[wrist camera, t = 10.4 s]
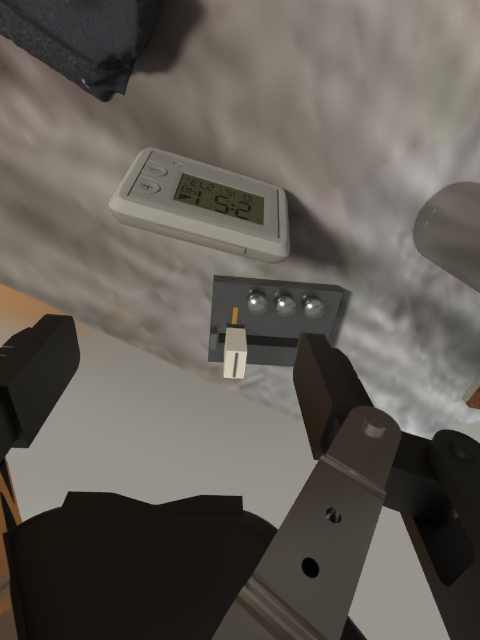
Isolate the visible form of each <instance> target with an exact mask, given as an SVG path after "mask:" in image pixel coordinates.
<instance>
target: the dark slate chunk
mask: <svg viewBox="0 0 480 640" xmlns="http://www.w3.org/2000/svg"><path fill="white" fill-rule="evenodd" d="M163 2H164V0H0V35H2V36H4V37H6V38H7V39H10V40H12V41H13V42H14V43H15V44H16V45H17V46H18V47H21V48H23V49H24V50H25V51H27V52H28V53H29V54H31V55H32V56H34V57H35V58H37V59H39V60H40V61H42V62H44V63H45V64H47V65H48V66H49V67H51V68H52V69H54V70H56V71H57V72H59V73H61V74H62V75H64V76H65V77H66V78H67V79H69V80H71V81H73V82H74V83H76V84H77V85H78V86H79V87H80V88H82V89H83V90H84V91H86V92H88V93H90V94H92V95H93V96H95V97H96V98H97V99H99V100H100V101H103V102H104V101H106V100H107V99H108V95H109V93H113V92H117V93H120V94H122V95H125V92H126V88H127V84H128V80H129V77H130V75H131V73H132V70H133V66H134V63H135V60H136V57H140V54H141V51H142V50H143V49H144V48H145V47H146V46H147V45H148V44H149V41H150V39H151V36H152V34H153V31H154V29H155V27H156V23H157V19H158V16H159V13H160V10H161V7H162V4H163Z"/></svg>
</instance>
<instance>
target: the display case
mask: <svg viewBox="0 0 480 640" xmlns="http://www.w3.org/2000/svg"><path fill="white" fill-rule="evenodd" d="M462 400H463V401H464V402H465V403H466V404H467V405H468V407H470V408H476V409H480V375H479V376H478V377H477V379H476V380H475V381H474V382H473V384H472V385H471V386H470V388H469V389H468V390H467V391H466V393H465V394H464V395H463V396H462Z"/></svg>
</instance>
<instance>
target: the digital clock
mask: <svg viewBox="0 0 480 640" xmlns="http://www.w3.org/2000/svg"><path fill="white" fill-rule="evenodd" d="M109 208H110V212H111V214H112V216H113V217H114V218H115V219H116V220H118V221H119V222H120V223H122V224H125V225H128V226H131V227H135V228H138V229H142V230H146V231H149V232H153V233H156V234H160V235H164V236H168V237H171V238H175V239H179V240H183V241H186V242H190V243H194V244H198V245H201V246H205V247H209V248H213V249H216V250H220V251H224V252H228V253H231V254H235V255H239V256H243V257H246V258H250V259H254V260H258V261H262V262H266V263H271V264H275V263H280V262H283V261H284V260H285V259H287V257H288V255H289V254H290V238H289V221H288V203H287V198H286V194H285V192H284V190H283V189H282V188H280V187H278V186H275V185H272V184H269V183H266V182H263V181H260V180H257V179H254V178H250V177H247V176H244V175H241V174H237V173H234V172H231V171H228V170H225V169H221V168H218V167H215V166H212V165H209V164H205V163H202V162H199V161H196V160H193V159H189V158H186V157H183V156H180V155H177V154H173V153H170V152H167V151H163V150H160V149H157V148H153V147H146V148H145V149H144V150H142V151H141V152H140V153H139V154H138V155H137V157H136V158H135V160H134V162H133V163H132V165H131V167H130V168H129V170H128V172H127V173H126V175H125V177H124V178H123V180H122V181H121V183H120V185H119V186H118V188H117V190H116V191H115V193H114V195H113V197H112V198H111V200H110V203H109Z"/></svg>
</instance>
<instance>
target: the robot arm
mask: <svg viewBox="0 0 480 640" xmlns="http://www.w3.org/2000/svg"><path fill="white" fill-rule="evenodd" d="M413 237H414V243H415V246H416V248H417V250H418V251H419V252H420V254H421V255H422V256H424V257H426V258H427V259H429V260H430V261H432V262H433V263H435V264H436V265H438V266H439V267H441V268H442V269H443V270H445V271H447V272H448V273H450V274H451V275H453V276H454V277H456V278H457V279H459V280H460V281H462V282H464V283H465V284H467V285H468V286H470V287H471V288H473V289H474V290H476V291H477V292H479V293H480V184H479V183H473V182H461V183H457V184H453V185H450V186H448V187H446V188H444V189H443V190H441V191H439V192H438V193H437V194H435V195H434V196H433V197H432V198H431V199H430V200H429V201H428V202H427V203H426V204H425V206H424V207H423V209H422V210H421V211H420V213H419V215H418V217H417V220H416V223H415V226H414V235H413ZM79 362H80V350H79V345H78V340H77V334H76V328H75V323H74V319H73V318H72V316H68V315H53V314H46V315H45V316H43V317H42V318H41V319H40V320H39V321H38V322H37V323H36V324H35V325H34V327H33V328H30V327H28V328H26V329H24V330H22V331H21V332H19V333H17V334H15V335H13V336H12V337H11V338H10V339H9V340H8V341H7V342H6V343H5V344H4V345H2V348H0V640H367V639H366V638H365V636H364V635H363V634H362V632H361V631H360V630H359V629H358V627H357V626H356V625H355V624H354V622H353V621H352V620H351V619H350V617H349V616H348V613H349V609H350V606H351V603H352V600H353V597H354V594H355V591H356V588H357V584H358V581H359V578H360V575H361V572H362V569H363V565H364V562H365V559H366V556H367V553H368V550H369V547H370V544H371V540H372V537H373V534H374V531H375V528H376V525H377V522H378V518H379V515H380V512H381V509H382V506H385V507H388V508H390V509H393V510H396V511H399V512H400V513H401V516H402V518H403V521H404V523H405V526H406V529H407V531H408V533H409V536H410V539H411V541H412V544H413V546H414V549H415V551H416V554H417V556H418V559H419V561H420V564H421V567H422V569H423V572H424V574H425V576H426V579H427V582H428V584H429V587H430V589H431V592H432V594H433V597H434V599H435V602H436V604H437V607H438V609H439V612H440V615H441V617H442V619H443V622H444V625H445V627H446V630H447V632H448V635H449V637H450V640H480V444H479V443H478V442H477V441H475V440H474V439H473V438H471V437H469V436H467V435H465V434H463V433H460V432H457V431H454V430H440V431H438V432H437V433H436V434H435V435H434V437H433V439H432V440H429V439H426V438H422V437H419V436H415V435H412V434H409V433H406V432H403V431H401V429H400V427H399V425H398V424H397V422H396V421H395V420H394V419H393V418H392V417H391V416H390V415H388V414H387V413H385V412H384V411H382V410H380V409H377V408H375V407H374V406H373V404H372V402H371V400H370V398H369V396H368V394H367V392H366V391H365V389H364V387H363V385H362V383H361V381H360V379H359V378H358V375H357V374H356V372H355V370H353V366H352V364H351V362H350V360H349V359H348V357H347V356H346V355H344V354H343V353H342V352H341V351H340V350H339V349H337V348H331V346H330V344H329V342H328V340H327V338H326V336H325V335H324V334H317V333H303V334H302V335H301V338H300V343H299V347H298V351H297V355H296V359H295V364H294V369H293V382H294V386H295V390H296V394H297V398H298V401H299V405H300V409H301V413H302V417H303V420H304V424H305V428H306V432H307V435H308V439H309V443H310V446H311V450H312V454H313V458H314V460H319V461H318V462H317V464H316V466H315V468H314V469H313V471H312V473H311V474H310V476H309V478H308V480H307V481H306V483H305V485H304V486H303V488H302V490H301V492H300V493H299V495H298V497H297V498H296V500H295V502H294V504H293V505H292V507H291V509H290V511H289V512H288V514H287V516H286V517H285V519H284V521H283V523H282V524H281V526H280V528H279V529H277V528H276V527H274V526H273V525H272V524H270V523H269V522H268V521H266V520H264V519H263V518H261V517H259V516H257V515H255V514H253V513H250V512H248V511H245V510H243V504H242V503H243V502H242V496H219V495H199V496H194V497H190V498H185V499H181V500H177V501H172V502H168V503H164V504H159V505H152V504H149V503H145V502H142V501H138V500H135V499H132V498H129V497H125V496H122V495H119V494H116V493H108V492H71V491H69V492H68V494H67V496H66V498H65V501H64V503H63V505H62V507H58V508H55V509H51V510H48V511H45V512H43V513H41V514H38V515H36V516H34V517H32V518H30V519H28V520H26V521H24V522H22V519H21V516H20V513H19V509H18V504H17V500H16V496H15V492H14V488H13V483H12V479H11V475H10V471H9V467H8V463H7V460H6V457H5V456H6V454H7V453H8V451H9V450H10V448H12V447H13V448H29V446H30V445H31V443H32V442H33V440H34V438H35V437H36V435H37V434H38V432H39V430H40V428H41V427H42V426H43V424H44V422H45V421H46V419H47V417H48V416H49V414H50V412H51V411H52V409H53V408H54V406H55V405H56V403H57V401H58V399H59V398H60V397H61V395H62V393H63V392H64V390H65V388H66V387H67V385H68V384H69V382H70V381H71V379H72V377H73V376H74V374H75V372H76V371H77V369H78V366H79ZM462 523H463V524H462ZM468 534H469V535H468Z"/></svg>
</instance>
